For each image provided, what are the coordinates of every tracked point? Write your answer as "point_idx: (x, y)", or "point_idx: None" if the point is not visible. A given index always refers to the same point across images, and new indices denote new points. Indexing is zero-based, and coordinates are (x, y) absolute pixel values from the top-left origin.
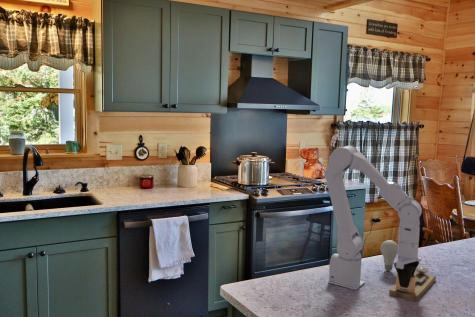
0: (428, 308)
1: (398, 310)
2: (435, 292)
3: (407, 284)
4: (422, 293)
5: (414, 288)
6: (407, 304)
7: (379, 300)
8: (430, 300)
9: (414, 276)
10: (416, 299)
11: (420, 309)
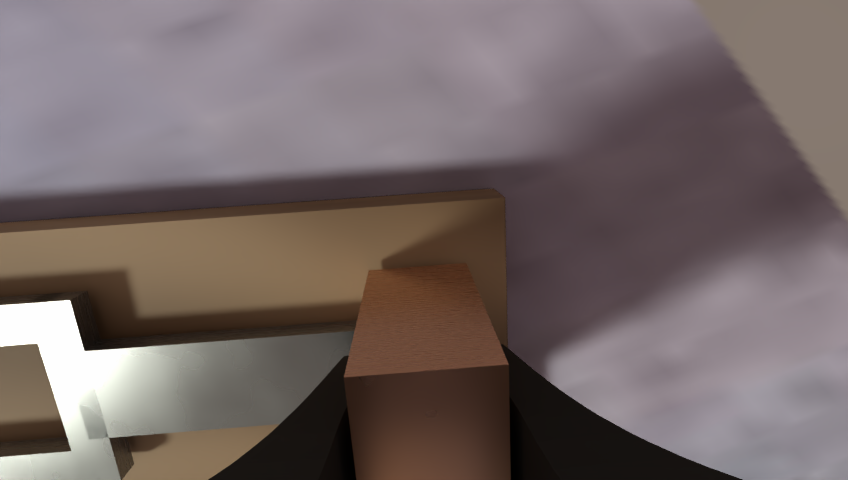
0: (579, 26)
1: (806, 241)
2: (58, 116)
3: (523, 365)
4: (252, 207)
5: (390, 281)
6: (615, 230)
7: (683, 438)
8: (342, 83)
9: (421, 376)
10: (495, 192)
11: (658, 86)
